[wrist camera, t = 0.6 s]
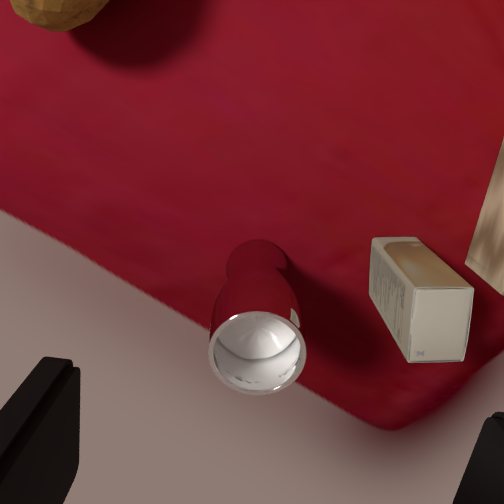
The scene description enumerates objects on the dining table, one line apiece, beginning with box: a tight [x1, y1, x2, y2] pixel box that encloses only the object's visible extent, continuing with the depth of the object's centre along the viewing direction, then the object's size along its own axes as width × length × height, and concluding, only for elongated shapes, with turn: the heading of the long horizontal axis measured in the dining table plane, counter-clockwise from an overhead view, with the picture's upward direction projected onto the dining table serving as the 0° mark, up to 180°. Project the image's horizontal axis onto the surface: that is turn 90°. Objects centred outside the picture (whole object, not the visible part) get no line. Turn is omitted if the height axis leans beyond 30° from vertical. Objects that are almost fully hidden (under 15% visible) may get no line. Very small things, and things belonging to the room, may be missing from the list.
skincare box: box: [369, 237, 474, 363], centre depth 37 cm, size 6×4×12 cm
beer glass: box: [208, 240, 306, 395], centre depth 36 cm, size 7×7×15 cm
